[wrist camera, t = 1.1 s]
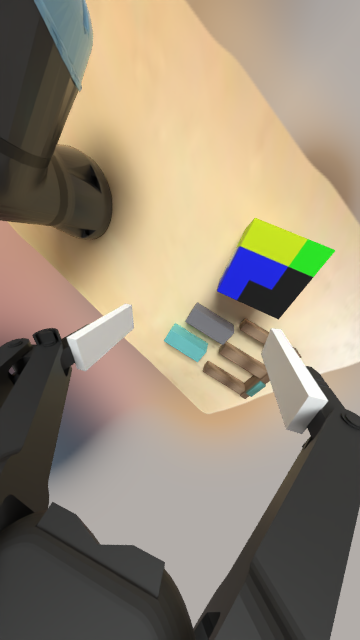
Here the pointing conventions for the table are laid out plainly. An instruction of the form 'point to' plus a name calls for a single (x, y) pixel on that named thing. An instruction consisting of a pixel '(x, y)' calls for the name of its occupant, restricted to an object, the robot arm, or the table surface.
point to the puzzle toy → (271, 267)
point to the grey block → (210, 324)
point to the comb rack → (242, 364)
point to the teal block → (186, 342)
